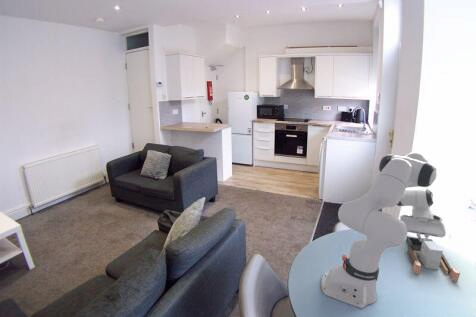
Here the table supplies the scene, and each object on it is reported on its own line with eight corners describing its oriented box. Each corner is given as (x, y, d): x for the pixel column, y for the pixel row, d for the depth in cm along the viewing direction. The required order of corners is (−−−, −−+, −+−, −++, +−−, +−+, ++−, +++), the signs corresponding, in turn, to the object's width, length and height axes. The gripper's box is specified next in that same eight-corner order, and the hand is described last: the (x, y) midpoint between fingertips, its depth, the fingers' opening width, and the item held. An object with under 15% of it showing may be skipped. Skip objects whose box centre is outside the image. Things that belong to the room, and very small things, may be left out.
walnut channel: (414, 268, 133) (415, 262, 132) (407, 251, 146) (408, 246, 145) (450, 275, 128) (452, 270, 127) (440, 257, 141) (441, 252, 140)
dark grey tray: (409, 250, 146) (410, 245, 146) (405, 240, 155) (406, 236, 154) (436, 254, 143) (437, 249, 142) (430, 245, 151) (431, 240, 150)
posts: (414, 273, 129) (416, 264, 128) (412, 269, 132) (414, 260, 130) (457, 282, 124) (460, 273, 122) (454, 278, 127) (457, 268, 125)
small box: (438, 270, 132) (443, 251, 129) (425, 268, 133) (430, 249, 130) (430, 259, 139) (435, 241, 136) (418, 258, 140) (422, 240, 137)
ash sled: (417, 268, 132) (421, 252, 130) (410, 251, 145) (413, 236, 142) (447, 274, 129) (451, 257, 126) (437, 256, 141) (441, 240, 139)
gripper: (402, 212, 152) (402, 237, 146) (445, 218, 146) (448, 244, 140) (398, 215, 157) (399, 239, 151) (440, 221, 151) (443, 247, 145)
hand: (423, 242), depth 145 cm, fingers closed
